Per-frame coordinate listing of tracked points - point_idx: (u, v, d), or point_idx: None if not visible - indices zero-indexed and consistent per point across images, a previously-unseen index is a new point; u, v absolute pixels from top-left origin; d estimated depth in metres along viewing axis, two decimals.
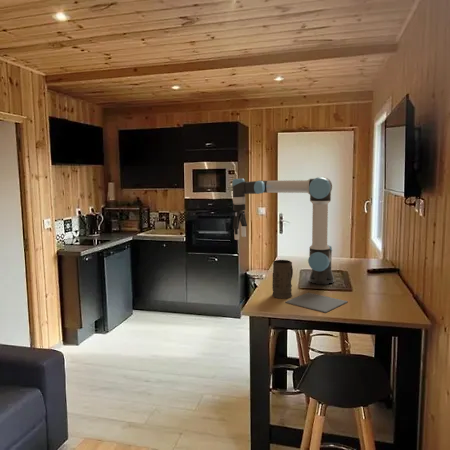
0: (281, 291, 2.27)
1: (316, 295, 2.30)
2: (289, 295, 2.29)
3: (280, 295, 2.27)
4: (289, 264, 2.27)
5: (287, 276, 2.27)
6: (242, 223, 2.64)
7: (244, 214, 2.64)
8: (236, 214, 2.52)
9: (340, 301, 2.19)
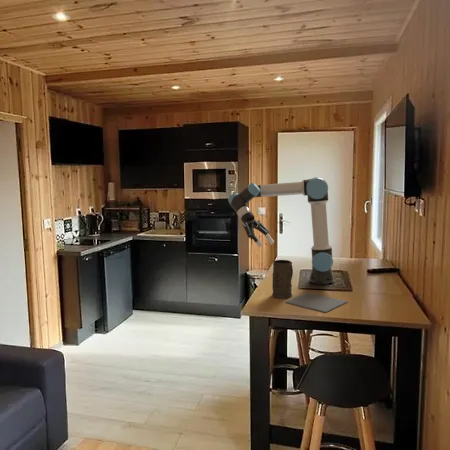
0: (281, 291, 2.27)
1: (316, 295, 2.30)
2: (289, 295, 2.29)
3: (280, 295, 2.27)
4: (289, 264, 2.27)
5: (287, 276, 2.27)
6: (263, 232, 2.46)
7: (260, 222, 2.49)
8: (244, 224, 2.40)
9: (340, 301, 2.19)
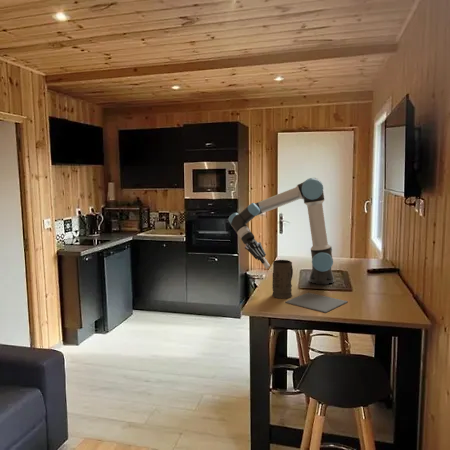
0: (281, 291, 2.27)
1: (316, 295, 2.30)
2: (289, 295, 2.29)
3: (280, 295, 2.27)
4: (289, 264, 2.27)
5: (287, 276, 2.27)
6: None
7: (260, 244, 2.49)
8: (247, 247, 2.42)
9: (340, 301, 2.19)
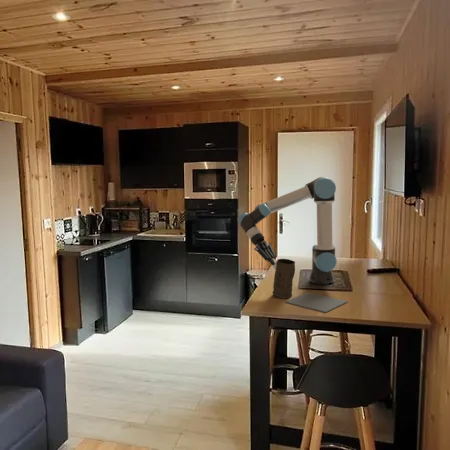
0: (282, 291, 2.27)
1: (316, 295, 2.30)
2: (289, 295, 2.28)
3: (280, 295, 2.27)
4: (293, 265, 2.25)
5: (289, 277, 2.26)
6: None
7: (270, 245, 2.42)
8: (257, 248, 2.36)
9: (340, 301, 2.19)
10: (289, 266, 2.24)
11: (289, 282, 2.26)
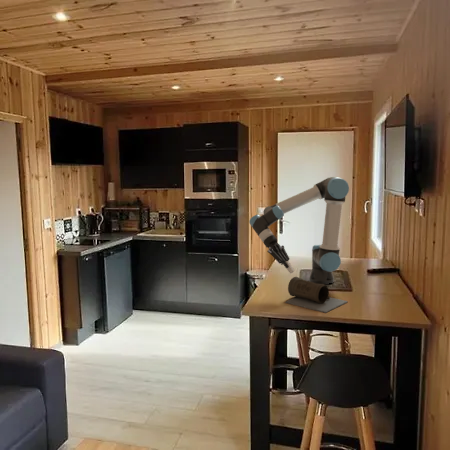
0: (293, 290, 2.24)
1: None
2: (292, 295, 2.28)
3: (290, 288, 2.25)
4: (318, 302, 2.15)
5: (307, 298, 2.19)
6: None
7: (283, 248, 2.37)
8: (270, 251, 2.30)
9: (340, 301, 2.19)
10: (316, 300, 2.14)
11: (303, 297, 2.22)
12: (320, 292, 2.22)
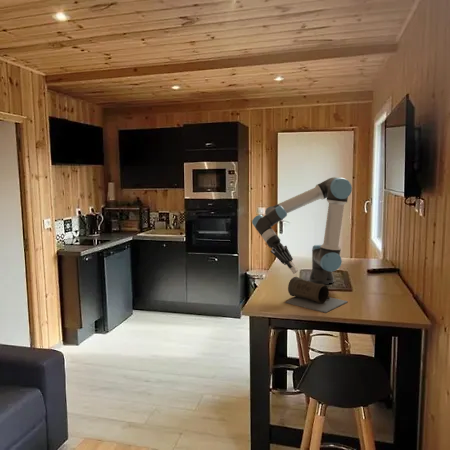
0: (293, 290, 2.24)
1: None
2: (292, 295, 2.28)
3: (290, 288, 2.25)
4: (318, 302, 2.15)
5: (307, 298, 2.19)
6: None
7: (286, 248, 2.36)
8: (273, 251, 2.29)
9: (340, 301, 2.19)
10: (316, 300, 2.14)
11: (303, 297, 2.22)
12: (320, 292, 2.22)
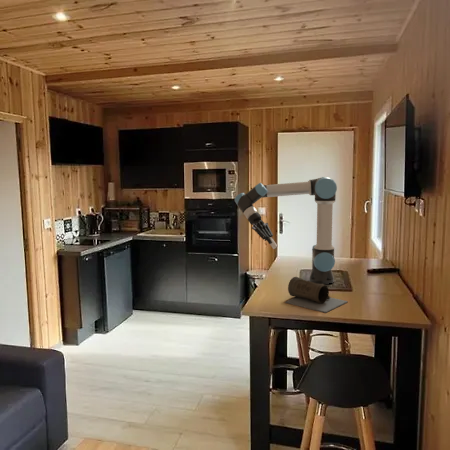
0: (293, 290, 2.24)
1: None
2: (292, 295, 2.28)
3: (290, 288, 2.25)
4: (318, 302, 2.15)
5: (307, 298, 2.19)
6: None
7: (267, 225, 2.44)
8: (254, 227, 2.37)
9: (340, 301, 2.19)
10: (316, 300, 2.14)
11: (303, 297, 2.22)
12: (320, 292, 2.22)
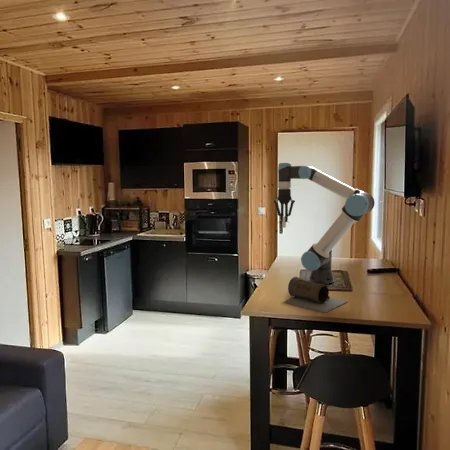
0: (293, 290, 2.24)
1: None
2: (292, 295, 2.28)
3: (290, 288, 2.25)
4: (318, 302, 2.15)
5: (307, 298, 2.19)
6: None
7: (291, 203, 2.51)
8: None
9: (340, 301, 2.19)
10: (316, 300, 2.14)
11: (303, 297, 2.22)
12: (320, 292, 2.22)
